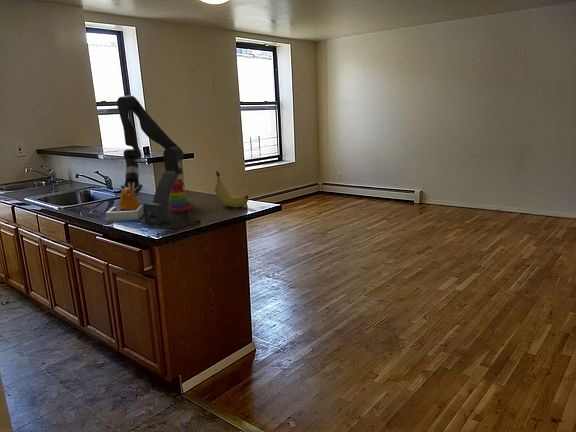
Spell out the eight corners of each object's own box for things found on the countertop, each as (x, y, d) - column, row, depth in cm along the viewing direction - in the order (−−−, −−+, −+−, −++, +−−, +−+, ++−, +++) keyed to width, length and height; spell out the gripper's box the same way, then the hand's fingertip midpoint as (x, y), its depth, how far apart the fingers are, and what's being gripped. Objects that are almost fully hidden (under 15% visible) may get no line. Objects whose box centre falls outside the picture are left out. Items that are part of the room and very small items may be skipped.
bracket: (144, 213, 243) (143, 205, 242) (138, 219, 229) (137, 211, 228) (114, 214, 242) (113, 206, 240) (106, 221, 228) (105, 213, 227)
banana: (251, 207, 249) (249, 172, 244) (245, 209, 244) (243, 173, 239) (220, 203, 260) (218, 170, 255) (214, 205, 255) (211, 171, 251)
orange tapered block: (125, 211, 250) (122, 190, 247) (119, 209, 255) (116, 189, 252) (142, 207, 257) (140, 187, 254) (137, 206, 262) (134, 186, 259)
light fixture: (184, 217, 231) (180, 171, 225) (158, 225, 217) (153, 176, 211) (170, 215, 236) (165, 170, 231) (144, 222, 222) (138, 175, 217)
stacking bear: (192, 208, 251) (190, 177, 247) (183, 212, 242) (180, 180, 238) (176, 207, 255) (173, 177, 250) (166, 211, 245) (163, 180, 241)
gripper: (119, 172, 265) (118, 196, 256) (142, 171, 267) (142, 194, 259) (122, 179, 271) (121, 203, 262) (144, 178, 274) (144, 201, 265)
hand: (131, 199), depth 260 cm, fingers closed
